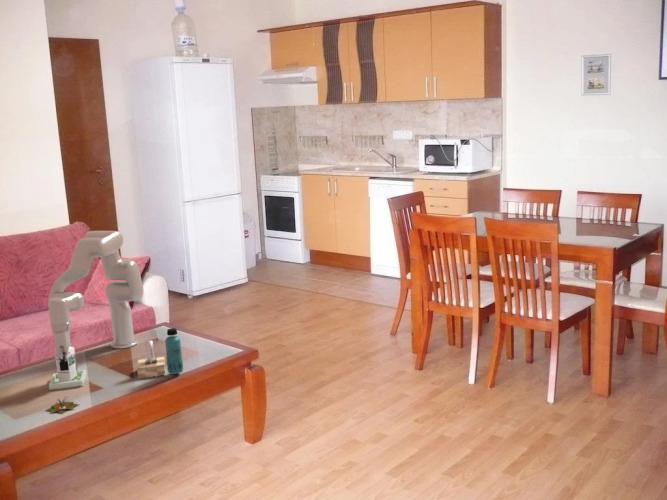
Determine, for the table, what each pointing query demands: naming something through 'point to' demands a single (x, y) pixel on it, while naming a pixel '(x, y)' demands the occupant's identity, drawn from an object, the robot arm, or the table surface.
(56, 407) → the lily flower
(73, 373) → the syrup box
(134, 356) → the table surface
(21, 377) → the table surface
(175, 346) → the beverage bottle
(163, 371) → the bore block
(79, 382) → the tray
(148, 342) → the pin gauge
